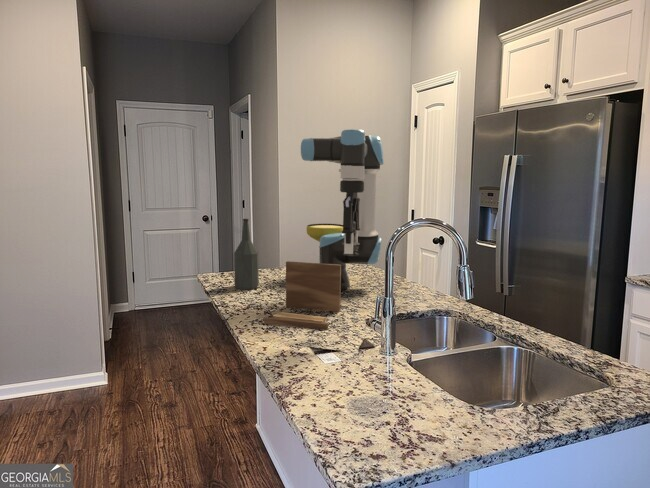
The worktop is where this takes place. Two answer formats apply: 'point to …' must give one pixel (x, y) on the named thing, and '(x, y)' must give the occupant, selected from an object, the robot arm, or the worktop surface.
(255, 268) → the bottle
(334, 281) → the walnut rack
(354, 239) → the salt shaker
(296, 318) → the upper offcut
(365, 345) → the chocolate bar
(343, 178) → the robot arm
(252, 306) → the worktop surface
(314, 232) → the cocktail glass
